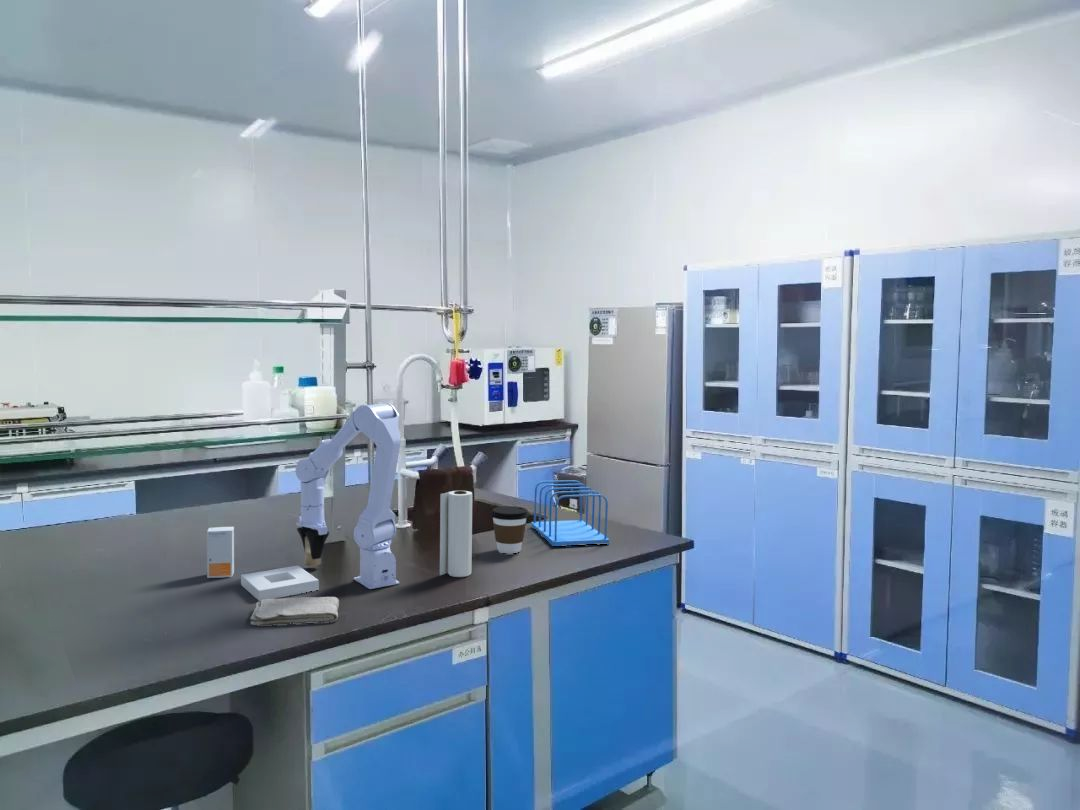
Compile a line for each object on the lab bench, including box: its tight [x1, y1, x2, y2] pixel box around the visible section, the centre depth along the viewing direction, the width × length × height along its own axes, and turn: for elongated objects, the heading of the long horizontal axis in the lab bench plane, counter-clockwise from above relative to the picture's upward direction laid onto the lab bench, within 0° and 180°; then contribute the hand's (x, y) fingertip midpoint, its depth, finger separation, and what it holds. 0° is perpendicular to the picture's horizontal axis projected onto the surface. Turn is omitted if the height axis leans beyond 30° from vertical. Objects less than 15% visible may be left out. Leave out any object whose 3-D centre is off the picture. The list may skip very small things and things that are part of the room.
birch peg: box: [304, 536, 322, 567], centre depth 205 cm, size 4×4×7 cm
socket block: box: [240, 565, 320, 602], centre depth 190 cm, size 14×14×2 cm
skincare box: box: [206, 526, 235, 579], centre depth 198 cm, size 6×4×12 cm
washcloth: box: [249, 596, 340, 627], centre depth 172 cm, size 12×18×3 cm, turn 102°
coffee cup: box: [490, 505, 530, 554], centre depth 224 cm, size 11×11×12 cm
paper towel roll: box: [439, 490, 473, 578], centre depth 202 cm, size 7×6×21 cm
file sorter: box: [530, 479, 610, 547], centre depth 243 cm, size 25×17×15 cm
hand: (313, 556), depth 205 cm, fingers closed on birch peg, 4 cm apart
